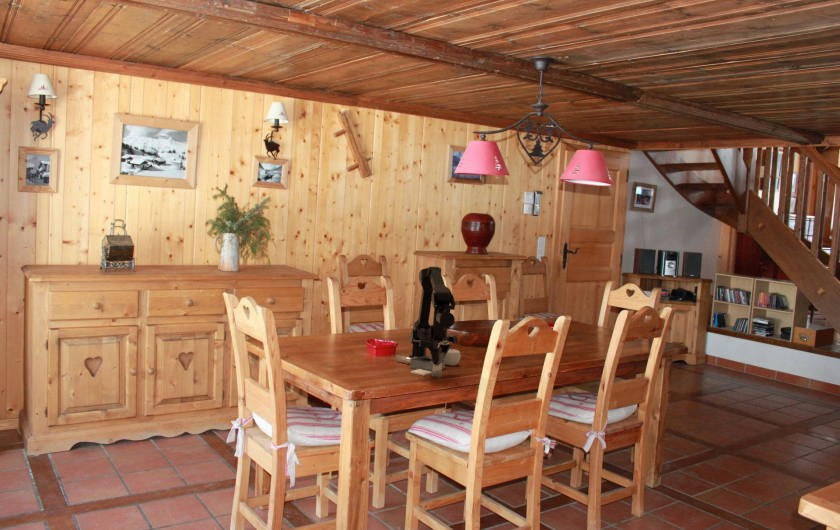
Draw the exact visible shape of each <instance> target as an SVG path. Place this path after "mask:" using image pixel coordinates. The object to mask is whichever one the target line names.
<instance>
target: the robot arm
mask: <svg viewBox="0 0 840 530" xmlns="http://www.w3.org/2000/svg"><path fill="white" fill-rule="evenodd" d="M418 280H419V283H420V286H421V287H422V289H421V296H420V302H419V303H420V305H419V311H418V318H417V320H416V321H415V322H414V324H413V325H412V327H413V328H412V329H411V331H410V333H409V343H411V344H412V347H411V354H409V355H408V357H409V358H413V357H422V356H428V357H432V360H433V364H437V361H438V358H439V356H440V353H441V352H444V357H445V356H446V354H447V352H448V351H449V349H451V347H452V346H453V345H452V344H458V342H459V341H458V340H459V338H458V336H457V335H455V334H448V330H450V329H451V327H452V326H453V325H455V321H456V318H455V316H454V314H453V313H451V311H454V310H455V306H456V303H455V297H454V295H453V293H452V291H451V289H450V287H448V286H446V285H445V282H444V278H443V275H442V268H441V267H440V266H427V267H426V268H422V269H420V271H419V272H418ZM432 307H433V308H432ZM431 309H433V316H432V318H433V319H432V324H430V323H429V322H430V316H431V315H430V314H431ZM450 343H452V344H450ZM427 350H429V352H430V355H431V356H430V355H427Z"/></svg>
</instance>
